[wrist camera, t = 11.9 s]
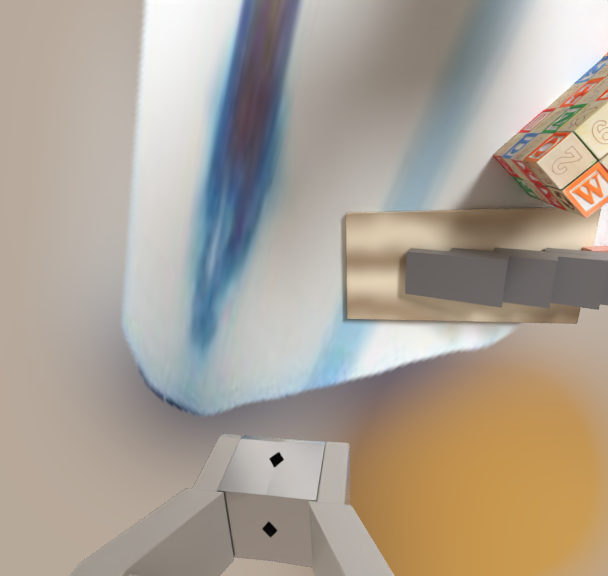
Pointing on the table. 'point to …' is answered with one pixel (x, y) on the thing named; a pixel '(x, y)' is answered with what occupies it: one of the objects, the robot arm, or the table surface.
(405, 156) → the table surface
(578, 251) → the domino
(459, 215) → the domino board
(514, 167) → the stack of blocks
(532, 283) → the domino
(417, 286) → the domino
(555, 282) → the domino
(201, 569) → the robot arm
